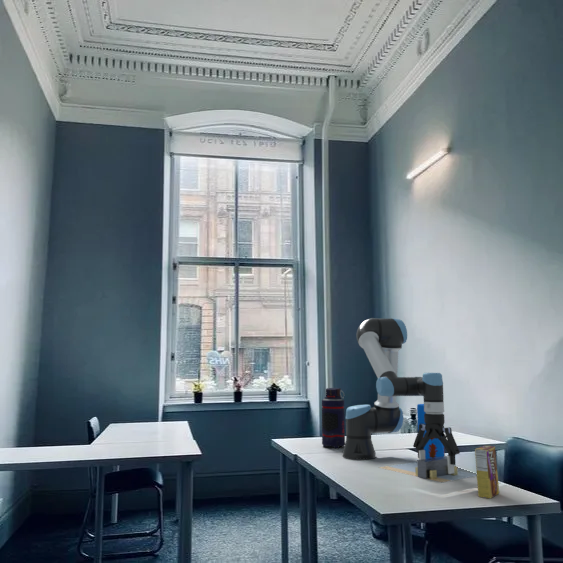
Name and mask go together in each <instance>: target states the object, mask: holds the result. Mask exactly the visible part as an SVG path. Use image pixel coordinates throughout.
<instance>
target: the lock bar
mask: <svg viewBox="0 0 563 563" xmlns="http://www.w3.org/2000/svg"><path fill="white" fill-rule="evenodd" d="M416 462H417V468H418V477H417V478H422V479H427V480H429V479H428V478H430V470H436V471H437V477H439V476H445V475H450V474H448V461H447V456H446V455H445V456H442V457H435V458H429V459H422V460H419V459H417V461H416Z"/></svg>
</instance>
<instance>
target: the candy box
mask: <svg viewBox="0 0 563 563" xmlns="http://www.w3.org/2000/svg"><path fill="white" fill-rule="evenodd" d="M496 451H497V450H496V446H493V445H482V446H479V447H476V448H475V449H474V455H475V456H474V457H475V469H476V474H477V476H476V482H477V495H478V496H479V498H483V497H486V498H485V499H489V498H490V499H492V498H494V497H495V496H497V495H498V494H500V488H499V476H498V475H499V474H498V463H497V453H496Z"/></svg>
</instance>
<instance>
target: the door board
mask: <svg viewBox="0 0 563 563" xmlns="http://www.w3.org/2000/svg"><path fill="white" fill-rule="evenodd" d="M415 467H417V461H414V462H413V461H412V462H405V463H400V464H399V463H398V464H393V465H392V464H391V465H387V466H380V467H378V468H379V469H383V470H388V471H391V472H396V473H401V474H405V475H409V476H414V477H417V478H419V477H418V476H416V471H415ZM457 471H458V475H451V474H450V475H445V476H439V477H437V479H430V478H428V479H427V480H430V481H434V482H438V483H439V482H440V483H446V482H451V481H452V482H453V481H456V480H463V479H467V478H472V477H477V473H472V472H467V471H461V470H458V469H457Z"/></svg>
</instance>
